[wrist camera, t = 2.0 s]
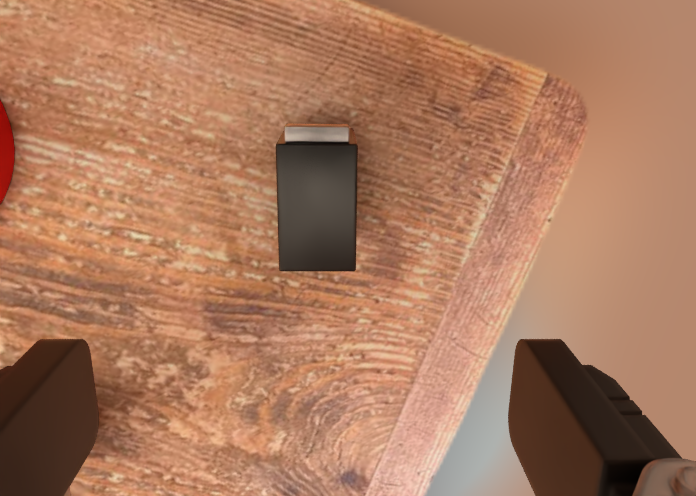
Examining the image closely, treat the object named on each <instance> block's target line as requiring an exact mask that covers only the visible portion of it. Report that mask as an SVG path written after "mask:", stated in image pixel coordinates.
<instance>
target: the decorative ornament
mask: <svg viewBox="0 0 696 496" xmlns="http://www.w3.org/2000/svg"><path fill="white" fill-rule="evenodd" d="M14 154H15V153H14V140H13V135H12V130H11V126H10V123H9V120H8V117H7V114H6V112H5V109H4V107H3V104H2V102H1V100H0V204H1V203H2V201H3V199H4V197H5V194H6V192H7V190H8V187H9V184H10V181H11V177H12V173H13V167H14Z"/></svg>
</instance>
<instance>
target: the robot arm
mask: <svg viewBox="0 0 696 496" xmlns="http://www.w3.org/2000/svg"><path fill="white" fill-rule="evenodd" d="M508 422H509V433H510V438H511V442H512V445H513V447H514V449H515V452H516V454H517V456H518V458H519V460H520V463H521V465H522V467H523V469H524V472H525V474H526V476H527V478H528V480H529V482H530V485H531V487H532V489H533V491H534V493H535V495H536V496H696V461H691V460H687V459H682V458H681V456H680V455H679V454H678V453H677V452H676V450H675V449H674V448H673V447H672V446H671V445H670V444H669V442H668V441H667V440H666V439H665V438H664V436H663V435H662V434H661V433H660V432H659V431H658V429H657V428H656V427H655V426H654V425H653V424H652V422H651V421H650V420H649V419H648V418H647V417H646V416H645V415H642V411H641V410H640V408H639V407H638V406H637V405H636V404H635V403H634V401H632V400H630V398H629V396H628V395H627V393H626V392H625V391H624V390H623V389H622V387H621V386H620V385H619V384H618V383H617V382H616V380H614V379H613V378H611V377H610V376H608V375H606V374H605V373H603V372H602V371H600V370H598V369H597V368H595V367H593V366H591V365H582V364H581V363H580V362H579V361H578V359H577V358H576V357H575V356H574V354H573V353H572V352H571V351H570V349H569V348H568V347H567V345H566V344H565V343H564V342H563V341H562V340H561V339H521V340H519V341H518V343H517V346H516V350H515V357H514V366H513V375H512V384H511V394H510V403H509V413H508ZM98 425H99V412H98V405H97V397H96V390H95V383H94V376H93V368H92V361H91V354H90V349H89V346H88V344H87V342H86V341H85V340H83V339H41V340H39V341H37V342H36V343H35V344H34V345H33V346H32V347H31V348H30V349H29V350H28V351H27V352H26V353H25V354H24V355H23V356H22V357H21V358H20V359H19V360H18V361H17V362H16V363H15V364H14V365H13V366H7V367H5V368H3V369H1V370H0V496H64V495H65V493H66V492H67V490H68V488H69V487H70V485H71V483H72V482H73V480H74V478H75V477H76V475H77V473H78V472H79V470H80V468H81V467H82V465H83V463H84V462H85V460H86V458H87V456H88V455H89V453H90V451H91V450H92V448H93V446H94V443H95V440H96V437H97V432H98Z"/></svg>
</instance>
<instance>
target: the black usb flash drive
mask: <svg viewBox="0 0 696 496" xmlns="http://www.w3.org/2000/svg"><path fill="white" fill-rule="evenodd" d="M357 162H358V145H357V141H356V137H355V134H354V130H353V128H349V124H286V125H285V127H284V131H283V133H282V135H281V137H280V138H279V140H278V142H277V144H276V169H277V206H278V242H279V270H280V271H355V270H356V223H357Z"/></svg>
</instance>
